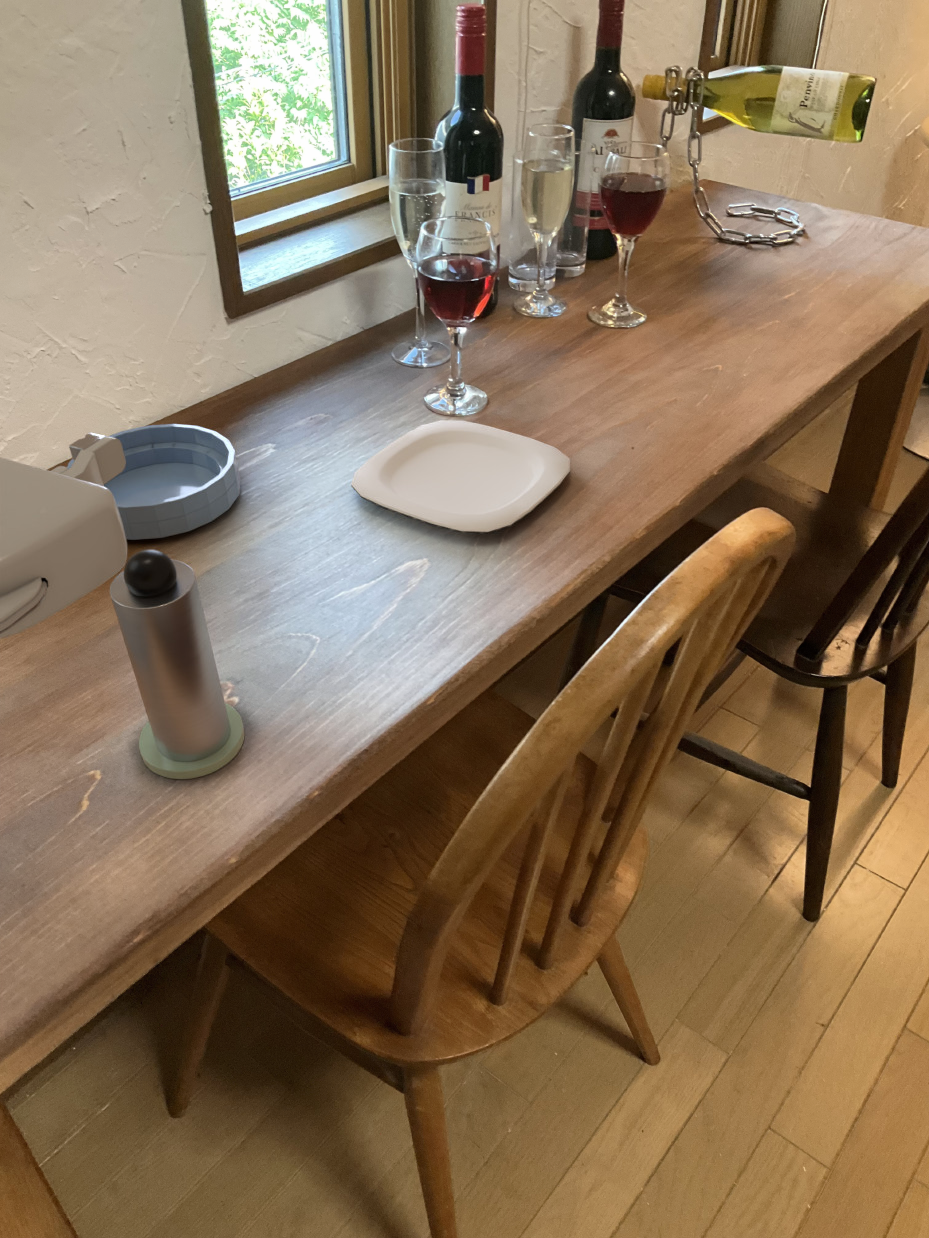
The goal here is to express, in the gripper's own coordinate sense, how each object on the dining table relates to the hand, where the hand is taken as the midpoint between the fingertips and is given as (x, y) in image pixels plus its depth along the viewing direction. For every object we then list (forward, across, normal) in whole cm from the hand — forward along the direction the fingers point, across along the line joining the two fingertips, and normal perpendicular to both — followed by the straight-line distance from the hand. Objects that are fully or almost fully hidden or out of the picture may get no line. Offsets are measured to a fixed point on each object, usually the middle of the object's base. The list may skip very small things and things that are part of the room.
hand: (37, 428), depth 47 cm
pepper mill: (+4, -1, +25) cm, 25 cm away
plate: (+43, -3, +26) cm, 50 cm away
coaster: (+4, 0, +26) cm, 26 cm away
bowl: (+28, +22, +26) cm, 45 cm away
